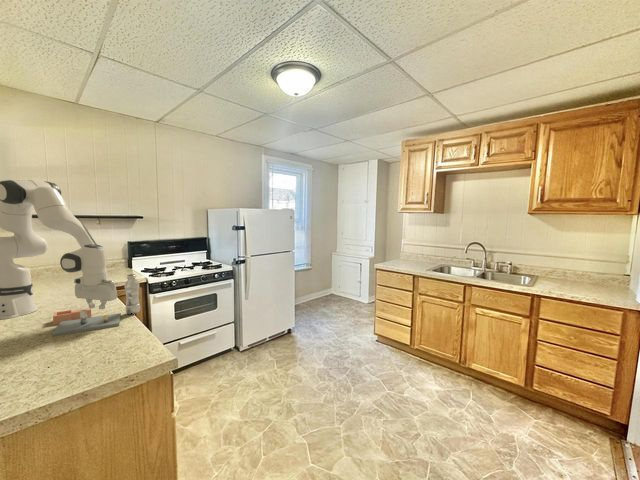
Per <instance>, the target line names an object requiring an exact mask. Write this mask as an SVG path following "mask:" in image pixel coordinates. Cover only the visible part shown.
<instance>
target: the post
mask: <svg viewBox="0 0 640 480" xmlns="http://www.w3.org/2000/svg"><path fill="white" fill-rule="evenodd" d="M108 315H109V314H106V315H105V316H104V315H103V316H104V323H106V322H108ZM80 324H81V325H84V324H87V310H81V311H80Z"/></svg>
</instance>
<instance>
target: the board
mask: <svg viewBox="0 0 640 480" xmlns="http://www.w3.org/2000/svg"><path fill="white" fill-rule="evenodd" d="M107 315H108V322H106V323H104V316H105V315H99V316H91V317H90V318H87V324H84V325H81V324H80V319H76V320H69V321H62V322H60V324H57V327H56V328H55V330H53V332H52V337H58V336H65V335H70V334H77V333H82V332H83V333H84V332H89V331H95V330H101V329H102V330H103V329H107V328H108V329H109V328H114V327H119V326H120V323H121V318H122V314H121V313H120V312H119V313H113V314H107Z"/></svg>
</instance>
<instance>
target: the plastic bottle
mask: <svg viewBox="0 0 640 480" xmlns="http://www.w3.org/2000/svg"><path fill="white" fill-rule="evenodd" d="M126 280H127V281H126V282H125V284H124V290H125V309H124V310H125V313H126V314H127V315H133V314H137V313H139V312H140V311H141V304H140V299H139V291H140V283H139V281H138V280H137V274H133V273H131V274H128V275H127V277H126ZM131 313H132V314H131Z"/></svg>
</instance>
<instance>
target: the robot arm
mask: <svg viewBox="0 0 640 480" xmlns="http://www.w3.org/2000/svg"><path fill="white" fill-rule="evenodd" d="M33 209H34V211H35V213H36V216H37V218H38V220H39V221H40V222H41V223H42V225H43V226H45V227H47V228H49V229H51V230H52V229H53V230H56V231H59V232H63V233H66V234H69V235H71V236H72V237H73V238H74V239H75V240H76V241H77V243H78V245H79V247H80V248H79V249H76V250H73V251H71V252H67V253H64V254H63V255H62V256H61V258H60V261H59V262H60V263H59V265H60V267H61V269H62V270H63V271H65V272H66V273H70V274H71V273H73V274H75V273H79V272H82V276H79V277H78V278H74V280H73V281H74V282H73V283H74V284H75V285H74V294H75V295H74V296H75V298H76V299H81V300H82V299H84V300H85V301H86V303H87V305H88V308H91V309H95V307H96V303H94V300H95V301H100V304H99V305H98V309H99V310H105V309H106V304H107V302H111V301H114V300H116V299H117V298H118V293H117V292H118V291H117V287H116V284H115V282H114V281H113V280H109V279H108V270H107V264H108V262H107V252H106V250H105V247H104V246H103V245H100V244H97V243H96V241H95V239H94V238H93V237H92V234H91V233H90V231H88V228H87V227H86V226H85V225H84V223H83V222H81V221H80V220H79V219H77V217H76V216H75V215H74V214H73V213H72V211H71V210H70V208H69V206H68V204H67V203H66V201H65V199H64V197H63V196H62V190H61V188H60V186H59V185H58V184H57V183H54V182H52V181H47V180H46V181H41V180H32V179H29V180H27V179H26V180H11V179H6V180H1V181H0V229H2V230H3V231H5V232H6V231H7V232H10V233H13V236H11V235H10V236H0V320H7V319H9V320H10V319H14V318H17V317H21V316H24V315H28V314H31V313H35V312H36V311H38V307H37V305H36V302H35V299H34V285H33V283H32V276H31V274H32V273H31V269H30V268H29V267H27V266H25V265H22V264H19V263H18V264H17V263H14V259H18V258H19V259H21V258H30V257H31V258H32V257H38V256H40V255H44V254H45V253H46V252H47V251H48V249H49V244H48V241H47V239H45V238H44V237H42V236H41V235H39V234H38V233H36V232H35V230H34V228H33V224H32V222H33V221H32V220H33V219H32V218H33Z"/></svg>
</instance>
